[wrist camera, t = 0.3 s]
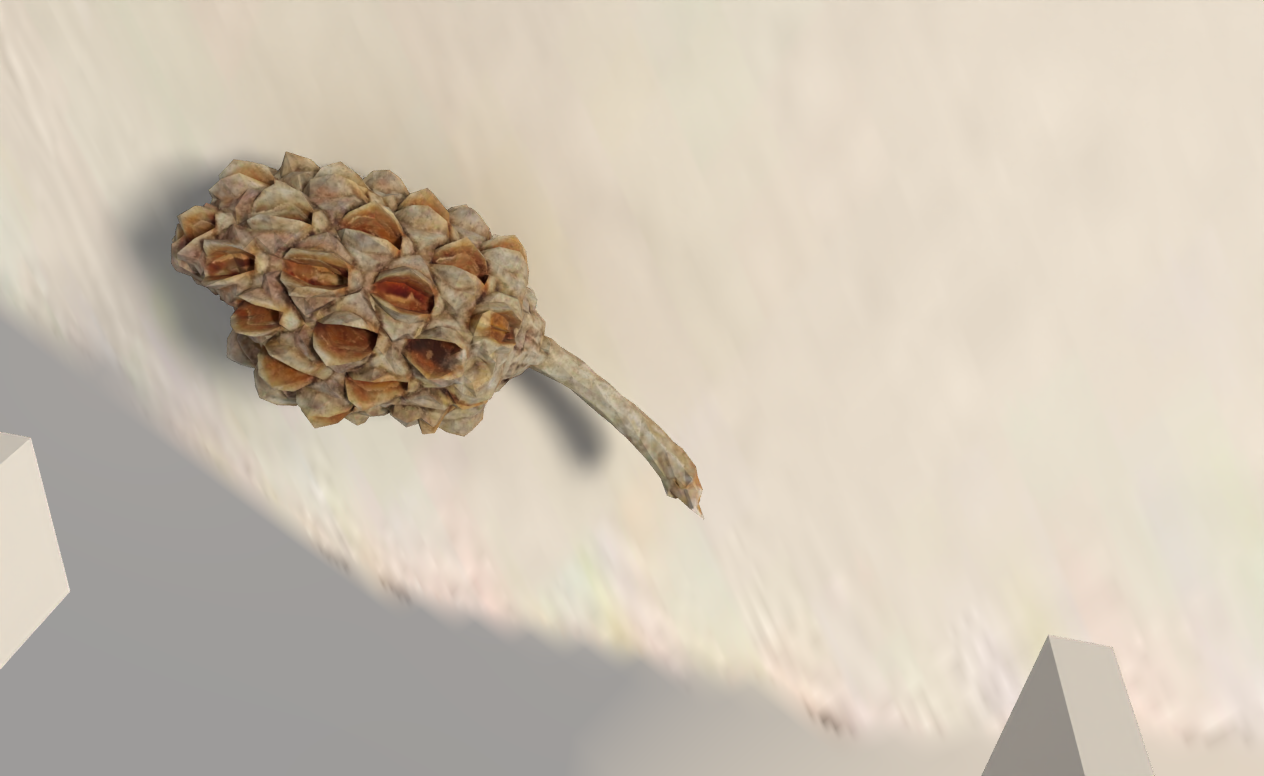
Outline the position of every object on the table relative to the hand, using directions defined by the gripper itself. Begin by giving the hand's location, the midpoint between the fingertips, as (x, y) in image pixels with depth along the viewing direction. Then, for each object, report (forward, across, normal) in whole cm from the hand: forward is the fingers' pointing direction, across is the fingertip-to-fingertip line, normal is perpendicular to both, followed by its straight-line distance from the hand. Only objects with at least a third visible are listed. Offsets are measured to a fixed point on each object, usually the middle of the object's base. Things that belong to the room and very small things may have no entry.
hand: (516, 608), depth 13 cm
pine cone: (+27, -7, -10) cm, 30 cm away
